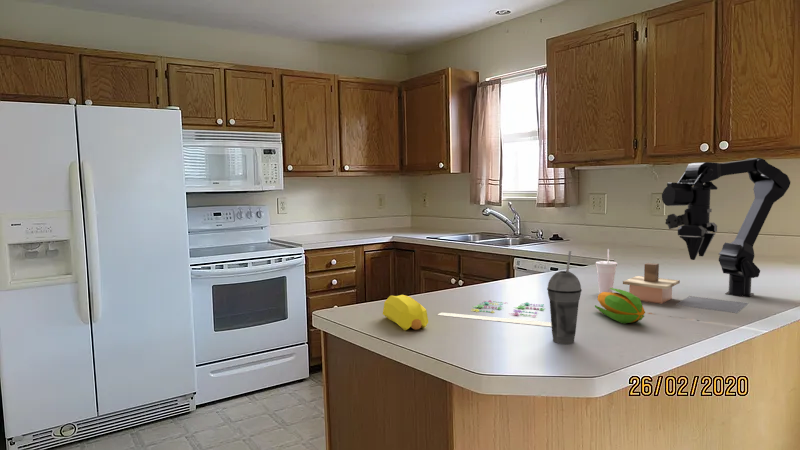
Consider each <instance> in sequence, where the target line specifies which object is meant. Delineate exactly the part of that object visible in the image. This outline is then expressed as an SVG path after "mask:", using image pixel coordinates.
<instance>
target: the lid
mask: <svg viewBox="0 0 800 450" xmlns="http://www.w3.org/2000/svg"><path fill="white" fill-rule="evenodd" d="M659 267H660V264H659V263H654V262H646V263H644V272H643V273H644V274H643V275H644V276H641V275H636V276H633V277H631V278H628V279H626V280H622V285H626V286H630V285H634V286H643V287H651V288H660V289H669V288H671V287H672V288H673V287H674V286H677V285H679V284H680V282H681V281H680V279H670V278H661V277H659V275H660V274H659V273H660V268H659Z"/></svg>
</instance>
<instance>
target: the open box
mask: <svg viewBox="0 0 800 450" xmlns="http://www.w3.org/2000/svg"><path fill="white" fill-rule="evenodd" d="M628 292H629V293H631V294H633V295H635V296H636V297H638V298H640V300H641V302H647V303H654V304H661V305H662V304H663V305H664V303H666V302H668V301H670V300H672V299H673V287H671V288H669V289H660V288H651V287H643V286H634V285H629V291H628Z"/></svg>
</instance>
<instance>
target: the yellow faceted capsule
mask: <svg viewBox="0 0 800 450" xmlns="http://www.w3.org/2000/svg"><path fill="white" fill-rule="evenodd" d="M383 303H384V304H383V311H382V315H383V316H384V317H386V319H388V320H390V321H391V322H393V323H395V324H397V325H398V326H399V327H400V328H401V329H402V330H403V331H407V330H409V329H410V328H411V329H413V330H414V331H417V330H420V329H425V328H427V325H428V324H429V317H428V311H427V309H426V307H424V306H423V305H422V304H421V303H420V302H418V301H417V300H415V299H414V298H413V297H412V296H408V295H404V294H400V295H389V296H388V297H387V299H386V300H385V301H384V302H383Z"/></svg>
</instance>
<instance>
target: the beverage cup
mask: <svg viewBox="0 0 800 450" xmlns="http://www.w3.org/2000/svg"><path fill="white" fill-rule="evenodd" d="M567 256H568V257H567V263H566V270H561V271H557V272H555V273H554V274H553V275H552V276H551V277H550V278H549V281H548V284H547V288H546V290H547V295H548V299H549V309H550V322H551V326H552V327H551V335H552V342H554V343H556V344H560V345H573V344H574V343H575V338H576V332H577V331H576V330H577V322H578V311H579V302H580V299H581V295H582V291H583V290H582V285H581V282H580V279H579V278H578V276H576V274H575V273H572V272H570V271H569V270H570V263H571V256H572V251H571V250H569V251H568V255H567Z"/></svg>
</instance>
